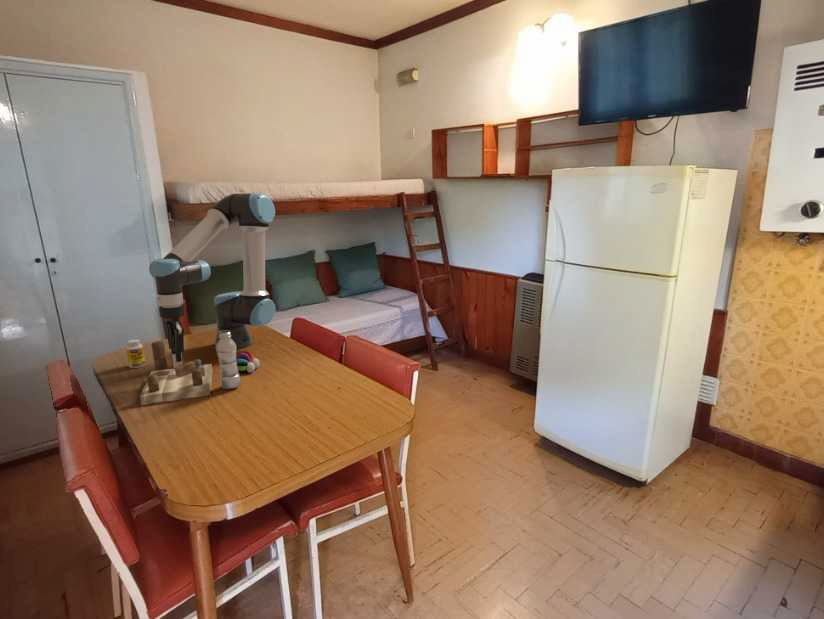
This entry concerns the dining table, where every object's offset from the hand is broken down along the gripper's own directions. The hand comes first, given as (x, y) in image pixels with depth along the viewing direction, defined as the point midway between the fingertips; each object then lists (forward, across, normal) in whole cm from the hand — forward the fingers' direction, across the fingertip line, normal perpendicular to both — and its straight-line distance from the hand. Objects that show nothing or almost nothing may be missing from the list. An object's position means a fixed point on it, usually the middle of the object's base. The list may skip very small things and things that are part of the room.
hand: (178, 369), depth 162 cm
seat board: (+4, +5, -2) cm, 7 cm away
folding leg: (+1, +1, +3) cm, 4 cm away
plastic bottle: (+4, +18, +10) cm, 21 cm away
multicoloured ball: (+4, +7, +21) cm, 23 cm away
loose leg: (+5, -16, -1) cm, 17 cm away
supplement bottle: (+6, -28, -6) cm, 29 cm away
